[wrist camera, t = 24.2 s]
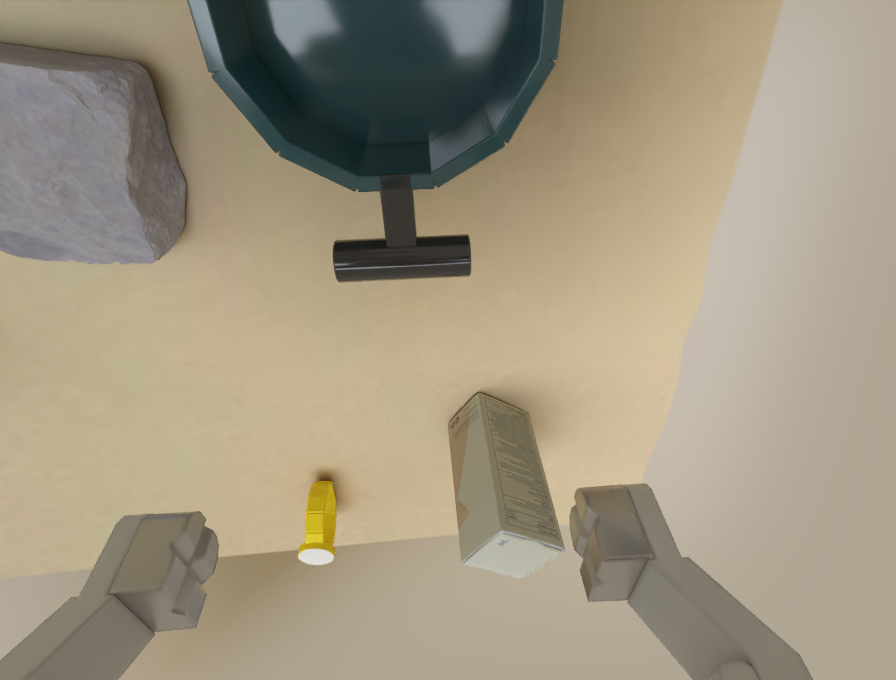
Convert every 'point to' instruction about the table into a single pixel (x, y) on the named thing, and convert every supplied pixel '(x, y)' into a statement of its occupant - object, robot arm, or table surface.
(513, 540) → the box
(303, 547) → the watch
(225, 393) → the table surface
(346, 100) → the bowl
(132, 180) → the stone block
